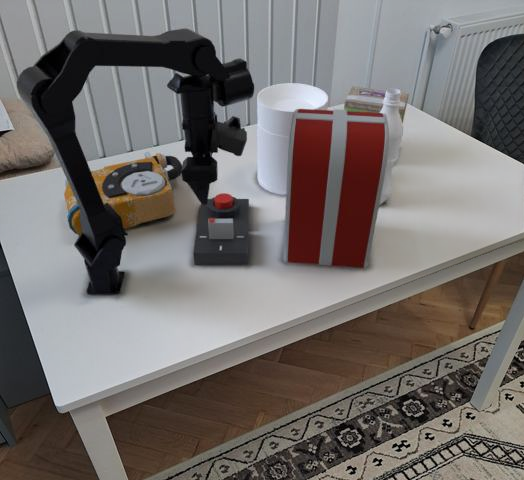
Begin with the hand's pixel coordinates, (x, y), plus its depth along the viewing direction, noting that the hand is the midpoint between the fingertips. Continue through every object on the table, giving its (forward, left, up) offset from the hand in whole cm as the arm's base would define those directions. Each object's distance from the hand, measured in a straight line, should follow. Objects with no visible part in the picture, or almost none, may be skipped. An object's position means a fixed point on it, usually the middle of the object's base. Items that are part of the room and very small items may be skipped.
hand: (205, 191), depth 104 cm
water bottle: (+17, -38, -12) cm, 44 cm away
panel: (-2, -3, -12) cm, 13 cm away
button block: (+9, -3, -12) cm, 16 cm away
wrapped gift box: (0, -25, -12) cm, 28 cm away
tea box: (+41, -40, -12) cm, 59 cm away
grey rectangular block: (-2, -3, -9) cm, 10 cm away
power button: (+9, -3, -9) cm, 13 cm away
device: (+15, +20, -12) cm, 28 cm away
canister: (+27, -18, -12) cm, 35 cm away
